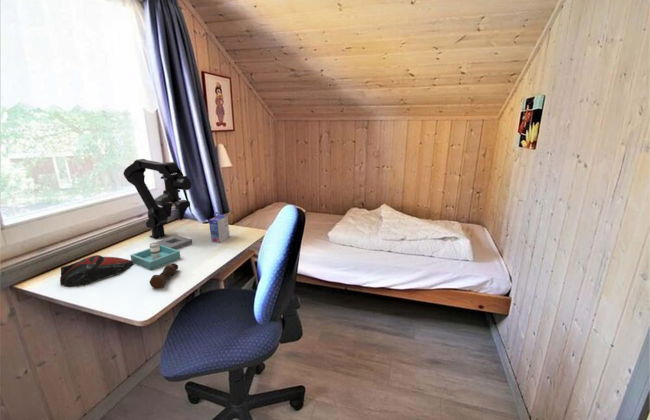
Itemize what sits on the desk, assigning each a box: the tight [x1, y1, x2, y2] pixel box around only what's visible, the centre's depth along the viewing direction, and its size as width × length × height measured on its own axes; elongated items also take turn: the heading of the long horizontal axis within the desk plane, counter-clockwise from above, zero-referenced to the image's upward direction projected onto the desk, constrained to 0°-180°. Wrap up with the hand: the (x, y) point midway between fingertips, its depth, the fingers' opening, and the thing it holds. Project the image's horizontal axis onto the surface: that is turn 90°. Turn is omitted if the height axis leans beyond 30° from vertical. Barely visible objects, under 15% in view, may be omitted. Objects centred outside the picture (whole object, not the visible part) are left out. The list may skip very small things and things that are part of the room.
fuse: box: [148, 241, 161, 260], centre depth 139 cm, size 4×4×7 cm
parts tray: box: [129, 245, 182, 271], centre depth 139 cm, size 14×14×4 cm
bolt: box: [149, 262, 179, 290], centre depth 123 cm, size 6×5×15 cm
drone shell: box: [59, 254, 134, 288], centre depth 126 cm, size 21×20×8 cm
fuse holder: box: [156, 234, 193, 250], centre depth 156 cm, size 12×12×2 cm
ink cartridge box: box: [208, 211, 230, 244], centre depth 163 cm, size 10×6×14 cm, turn 167°
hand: (175, 218), depth 159 cm, fingers open, 9 cm apart
